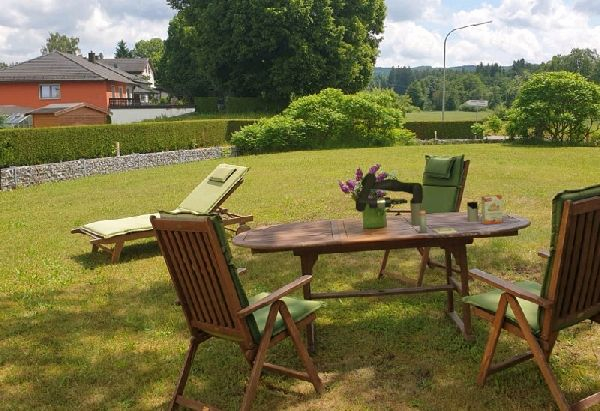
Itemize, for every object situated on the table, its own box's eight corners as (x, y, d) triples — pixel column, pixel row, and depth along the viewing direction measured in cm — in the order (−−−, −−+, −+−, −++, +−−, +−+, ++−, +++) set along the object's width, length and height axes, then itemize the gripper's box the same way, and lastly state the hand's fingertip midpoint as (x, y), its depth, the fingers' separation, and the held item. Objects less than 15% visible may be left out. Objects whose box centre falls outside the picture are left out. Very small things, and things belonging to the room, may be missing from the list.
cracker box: (485, 224, 440) (484, 196, 438) (481, 223, 446) (480, 196, 444) (503, 222, 442) (501, 195, 440) (498, 222, 448) (497, 194, 446)
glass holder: (465, 221, 463) (464, 202, 462) (481, 219, 467) (480, 200, 465) (471, 222, 455) (470, 203, 453) (487, 220, 458) (486, 201, 457)
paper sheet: (432, 230, 432) (432, 228, 432) (450, 229, 432) (450, 227, 432) (438, 233, 416) (437, 232, 416) (456, 232, 416) (456, 230, 416)
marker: (419, 232, 427) (418, 210, 425) (426, 232, 427) (424, 210, 425) (421, 233, 422) (419, 211, 420) (427, 233, 422) (426, 210, 420)
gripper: (382, 206, 430) (404, 205, 429) (385, 208, 415) (408, 207, 415) (381, 196, 429) (404, 194, 429) (384, 198, 415) (407, 196, 415)
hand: (406, 200), depth 422 cm, fingers open, 8 cm apart
